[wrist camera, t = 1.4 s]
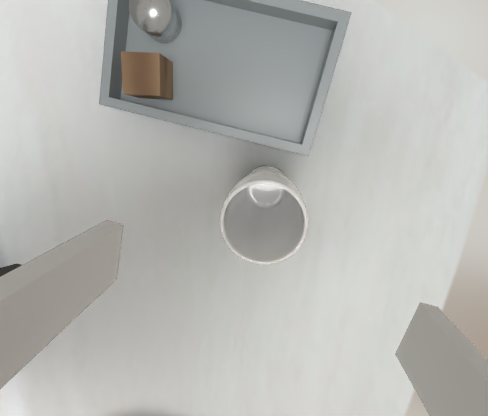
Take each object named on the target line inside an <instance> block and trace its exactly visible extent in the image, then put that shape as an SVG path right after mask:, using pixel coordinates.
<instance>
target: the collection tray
mask: <svg viewBox="0 0 488 416" xmlns="http://www.w3.org/2000/svg"><path fill="white" fill-rule="evenodd" d="M170 1H171V2H172V3H173V5H174V6H175V7H176V9H177V10H178V11H179V13H180V16H181V20H182V27H181V31H180V34H179V35H178V37H177V38H176V39H175V40H174V41H172V42H170V43H160V42H158V41H156V40H154V39H153V38H152V37H151V36H149V35H148V34H147V33H146V32H144V31H143V30H142V29H141V28H139V27H138V26H137V25H136V24H135V23H134V21H133V20H132V18H131V15H130V12H129V0H108V7H107V19H106V31H105V42H104V54H103V66H102V77H101V89H100V100H99V104H101V105H105V106H109V107H113V108H117V109H121V110H125V111H129V112H133V113H137V114H141V115H145V116H149V117H153V118H157V119H161V120H165V121H169V122H173V123H177V124H181V125H185V126H189V127H193V128H197V129H201V130H205V131H209V132H213V133H217V134H221V135H225V136H229V137H233V138H238V139H242V140H246V141H250V142H254V143H258V144H262V145H266V146H270V147H274V148H278V149H282V150H286V151H290V152H294V153H298V154H302V155H306V156H309V153H310V150H311V146H312V143H313V140H314V136H315V133H316V130H317V126H318V123H319V120H320V116H321V113H322V110H323V106H324V103H325V99H326V96H327V93H328V89H329V86H330V83H331V79H332V76H333V73H334V69H335V66H336V63H337V59H338V56H339V53H340V49H341V46H342V42H343V39H344V36H345V32H346V29H347V26H348V22H349V19H350V16H351V12H348V11H344V10H340V9H335V8H331V7H327V6H322V5H318V4H314V3H310V2H305V1H301V0H170ZM121 51H125V52H149V53H160V54H162V55H163V56H164V57H166V58H167V59H169V60H170V61H171V62H173V100H164V99H145V98H137V97H133V96H130V95H126V94H123V84H122V64H121Z"/></svg>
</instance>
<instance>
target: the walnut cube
mask: <svg viewBox="0 0 488 416" xmlns="http://www.w3.org/2000/svg"><path fill="white" fill-rule="evenodd" d="M121 64H122V84H123V94H126V95H130V96H133V97H137V98H145V99H164V100H173V62H171V61H170V60H169V59H167V58H166V57H164V56H163V55H162V54H160V53H149V52H125V51H121Z"/></svg>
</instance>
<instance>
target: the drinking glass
mask: <svg viewBox="0 0 488 416" xmlns="http://www.w3.org/2000/svg"><path fill="white" fill-rule="evenodd" d="M220 229H221V233H222V236H223V238H224V241H225V242H226V244H227V245H228V247H229V248H230V249H231V250H232V251H233V252H234V253H235V254H236V255H237V256H239V257H240V258H242V259H244V260H246V261H249V262H252V263H256V264H273V263H277V262H280V261H283V260H285V259H287V258H289V257H290V256H292V255H293V254H294V253H295V252H296V251H297V250H298V249H299V248H300V246H301V245H302V243H303V242H304V240H305V237H306V235H307V231H308V214H307V210H306V206H305V203H304V201H303V198H302V196H301V194H300V192H299V191H298V189H297V188H296V186H295V185H294V184H293V183H292V182H291V181H290V180H289V179H288V178H287V177H285V175H284V174H283V173H282V172H281V171H280V170H279V169H277V168H275V167H272V166H262V167H258V168H256V169H255V170H253V171H252V172H251V173H250V174H249V175H247V176H245V177H244V178H242V179H241V180H240V181H239V182H238V183H237V184H236V185H235V186H234V187H233V188H232V190H231V191H230V193H229V194H228V196H227V198H226V200H225V203H224V205H223V207H222V210H221V214H220Z"/></svg>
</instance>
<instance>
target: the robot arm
mask: <svg viewBox="0 0 488 416" xmlns="http://www.w3.org/2000/svg"><path fill="white" fill-rule="evenodd" d="M122 232H123V224H120V223H116V222H112V221H108V220H106V221H104V222H102V223H100V224H98V225H97V226H95V227H93V228H91V229H89V230H87V231H85V232H83V233H82V234H80V235H78V236H76V237H74V238H72V239H70V240H68V241H67V242H65V243H63V244H61V245H59V246H57V247H55V248H53V249H52V250H50V251H48V252H46V253H44V254H42V255H40V256H38V257H37V258H35V259H33V260H31V261H29V262H27V263H25V264H23V265H20V264H14V265H10V266H6V267H3V268H0V389H1V388H2V387H3V386H4V385H5V384H6V383H7V382H8V381H9V380H10V379H11V378H13V377H14V376H15V375H16V374H17V373H18V372H19V371H20V370H21V369H22V368H23V367H24V366H25V365H26V364H27V363H28V362H29V361H31V360H32V359H33V358H34V357H35V356H36V355H37V354H38V353H39V352H40V351H41V350H42V349H43V348H44V347H45V346H46V345H47V344H49V343H50V342H51V341H52V340H53V339H54V338H55V337H56V336H57V335H58V334H59V333H60V332H61V331H62V330H63V329H64V328H65V327H66V326H68V325H69V324H70V323H71V322H72V321H73V320H74V319H75V318H76V317H77V316H78V315H79V314H80V313H81V312H82V311H83V310H84V309H86V308H87V307H88V306H89V305H90V304H91V303H92V302H93V301H94V300H95V299H96V298H97V297H98V296H99V295H100V294H101V293H102V292H103V291H105V290H106V289H107V288H108V287H109V286H110V285H111V284H112V283H113V282H114V281H115V280H116V279H117V272H118V264H119V256H120V248H121V240H122ZM396 356H397V358H398V360H399V361H400V363H401V365H402V367H403V369H404V371H405V372H406V374H407V376H408V378H409V380H410V381H411V383H412V385H413V387H414V389H415V390H416V392H417V394H418V395H419V397H420V399H421V401H422V403H423V405H424V407H425V408H426V410H427V412H428V414H429V416H488V359H487V358H486V357H485V356H484V355H483V354H482V353H481V352H480V351H479V350H478V349H477V348H476V347H475V346H474V345H473V344H472V343H471V341H470V340H469V339H468V338H467V337H466V336H465V335H464V334H463V333H462V332H461V331H460V330H459V329H458V328H457V327H456V326H455V325H454V323H453V322H452V321H451V320H450V319H449V318H448V317H447V316H446V315H445V314H444V313H443V312H442V311H441V310H440V309H439V308H438V307H436V306H432V305H428V304H424V303H420V304H419V306H418V308H417V310H416V312H415V314H414V316H413V318H412V320H411V322H410V324H409V327H408V329H407V331H406V333H405V335H404V337H403V339H402V341H401V343H400V345H399V347H398V349H397V351H396Z"/></svg>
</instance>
